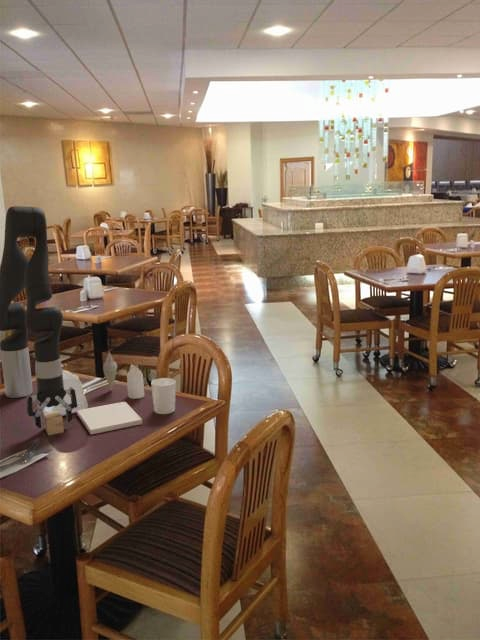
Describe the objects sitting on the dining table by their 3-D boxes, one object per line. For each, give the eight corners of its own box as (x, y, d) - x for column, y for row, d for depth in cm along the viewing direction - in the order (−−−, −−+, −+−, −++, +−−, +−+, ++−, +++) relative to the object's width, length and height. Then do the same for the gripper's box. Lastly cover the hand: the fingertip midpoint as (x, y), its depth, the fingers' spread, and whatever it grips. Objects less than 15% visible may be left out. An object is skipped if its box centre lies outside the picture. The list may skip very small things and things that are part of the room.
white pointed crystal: (145, 362, 200) (136, 367, 195) (147, 395, 203) (137, 400, 198) (132, 360, 203) (122, 364, 198) (134, 392, 205) (124, 397, 201)
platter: (77, 414, 186) (77, 410, 185) (125, 405, 193) (125, 401, 192) (90, 434, 170) (90, 429, 170) (142, 423, 177) (142, 419, 177)
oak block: (44, 428, 175) (43, 413, 174) (59, 425, 177) (58, 410, 176) (48, 435, 170) (46, 420, 169) (63, 432, 172) (62, 417, 171)
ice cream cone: (110, 394, 204) (108, 353, 201) (101, 391, 207) (98, 351, 204) (121, 390, 208) (119, 350, 205) (112, 387, 211) (109, 348, 208)
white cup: (165, 404, 193) (163, 376, 191) (181, 409, 188) (180, 381, 186) (147, 411, 187) (146, 382, 185) (164, 417, 182) (162, 387, 180)
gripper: (70, 366, 176) (75, 415, 180) (22, 374, 170) (27, 425, 173) (76, 373, 170) (80, 423, 173) (25, 381, 163) (31, 433, 167)
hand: (54, 424), depth 173 cm, fingers open, 8 cm apart
